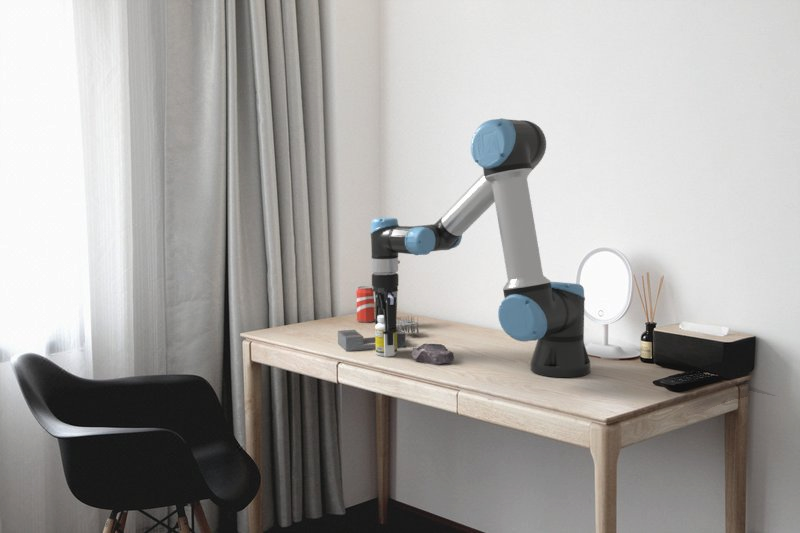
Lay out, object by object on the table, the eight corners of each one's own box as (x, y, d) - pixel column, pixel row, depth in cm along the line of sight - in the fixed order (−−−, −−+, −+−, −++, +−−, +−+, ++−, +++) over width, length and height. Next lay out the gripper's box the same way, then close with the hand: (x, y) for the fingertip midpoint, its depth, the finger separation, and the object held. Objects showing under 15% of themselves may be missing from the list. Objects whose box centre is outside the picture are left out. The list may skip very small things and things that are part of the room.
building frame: (408, 332, 267) (408, 314, 266) (421, 337, 260) (421, 318, 259) (391, 335, 264) (391, 316, 263) (404, 339, 257) (404, 320, 256)
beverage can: (367, 319, 291) (366, 285, 290) (378, 321, 286) (377, 287, 285) (353, 321, 287) (352, 287, 286) (364, 324, 282) (363, 289, 281)
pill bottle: (398, 351, 239) (397, 313, 238) (396, 356, 233) (395, 317, 232) (377, 351, 240) (376, 313, 238) (374, 356, 234) (373, 317, 232)
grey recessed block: (405, 346, 246) (405, 333, 245) (346, 351, 241) (345, 337, 240) (395, 339, 256) (394, 326, 256) (338, 343, 251) (337, 330, 251)
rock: (440, 367, 220) (440, 350, 220) (407, 361, 228) (407, 345, 227) (459, 362, 226) (459, 345, 226) (426, 356, 234) (426, 340, 233)
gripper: (407, 276, 225) (408, 359, 228) (388, 268, 244) (389, 345, 246) (381, 277, 223) (382, 361, 226) (363, 269, 242) (364, 347, 244)
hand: (386, 353), depth 236 cm, fingers closed on pill bottle, 6 cm apart
